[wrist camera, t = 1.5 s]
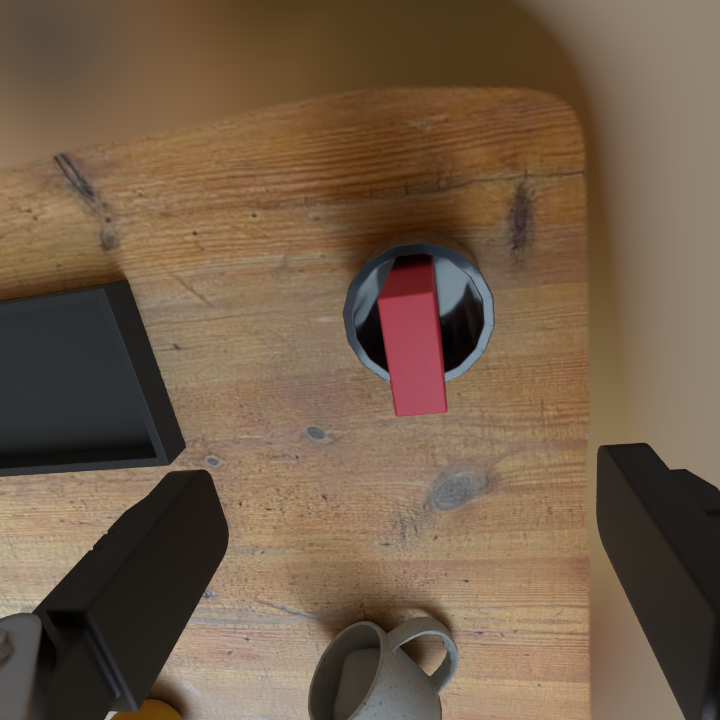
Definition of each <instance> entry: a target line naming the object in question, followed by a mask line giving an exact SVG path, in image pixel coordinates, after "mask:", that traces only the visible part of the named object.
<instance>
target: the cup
mask: <svg viewBox="0 0 720 720" xmlns="http://www.w3.org/2000/svg"><path fill="white" fill-rule="evenodd" d="M422 253H423V254H427V255H431V256H433V260H434V269H435V278H436V287H437V295H438V304H439V313H440V322H441V331H442V344H443V358H444V372H445V382H447V381H449V380H451V379H454V378H456V377H458V376H460V375H462V374H464V373H465V372H467V370H468V369H469V368H470V367H471V366H472V365H473V364H474V363H475V362H476V361H477V360H478V359H479V358H480V357H481V355H482V354H483V353H484V352H485V350H486V347H487V345H488V342H489V339H490V336H491V334H492V331H493V328H494V324H495V320H494V303H493V296H492V293H491V291H490V289H489V287H488V285H487V283H486V281H485V279H484V277H483V276H482V274H481V272H480V270H479V268H478V266H477V264H476V263H475V261H474V259H473V257H472V255H471V254H470V252H469V251H467V250H466V249H465V248H464V247H463V246H462V245H461V244H459V243H458V242H457V241H455V240H454V239H452V238H451V237H449V236H446V235H443V234H440V233H437V232H431V231H412V232H407V233H403V234H400V235H397V236H396V237H394V238H392V239H390V240H388V241H387V242H386V243H384V244H383V245H381V246H379V247H378V248H377V249H376V250H375V252H374V253H373V254H372V256H371V257H370V258H369V259H368V261H367V262H366V263H365V265H364V266H363V267H362V269H361V270H360V271H359V273H358V274H357V276H356V277H355V278H354V280H353V281H352V282H351V284H350V286H349V288H348V292H347V297H346V301H345V306H344V310H343V318H344V324H345V329H346V335H347V340H348V342H349V344H350V346H351V347H352V349H353V350H354V352H355V353H356V355H357V357H358V358H359V360H360V361H361V363H362V364H363V365H364V366H366V367H367V368H368V369H370V370H371V371H373V372H374V373H375V374H377V375H378V376H379V377H381V378H382V379H384V380H386V381H389V382H390V376H389V370H388V364H387V358H386V352H385V345H384V339H383V333H382V327H381V320H380V314H379V308H378V302H377V299H378V297H379V294H380V292H381V290H382V288H383V286H384V283H385V281H386V279H387V277H388V274H389V272H390V270H391V268H392V265H393V263H394V261H395V259H396V257H401V256H408V255H415V254H422Z"/></svg>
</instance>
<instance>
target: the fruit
mask: <svg viewBox="0 0 720 720" xmlns="http://www.w3.org/2000/svg"><path fill="white" fill-rule="evenodd" d="M110 720H183V718H182V717H181V715H180V714H179V713H178V712H177V711H176V710H175V709H174V708H172V707H171V706H170V705H168V704H167V703H165V702H163V701H160V700H154V699H148V700H145V701H144V703H143V704H142V706H141V708H140V710H139V712H138V713H135V712H117V713H116V714H115V715H114V716H113V717H112V718H111V719H110Z"/></svg>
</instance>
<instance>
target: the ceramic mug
mask: <svg viewBox="0 0 720 720" xmlns="http://www.w3.org/2000/svg"><path fill="white" fill-rule="evenodd" d="M424 634H437V635H440V636H441V638H442V640H443V645H444V647H445V648H447V654H446V657H445V659H444V660H443V662H442V665H441V666H440V667H439V668H438V669H437V670H436V671H435V672H434V673H433V674H432V675H431V676H428V675H427V674H426V673H425V672H424V671H423V670H422V669H421V668H420V667H419V666H418V665H417V664H416V663H415V662H414V661H413V660H412V659H411V658H410V657H409V656H408V655H407V654H406V653H405V652H404V651H403V650H402V649H401V648H400V647H399V646H400V645H402V644H404V643H406V642H407V641H409V640H411V639H413V638H415V637H417V636H420V635H424ZM457 667H458V649H457V646H456V644H455V642H454V640H453V638H452V636H451V634H450V632H449V631H448V629H447V628H446V627H445V626H444V625H443V624H442V623H441V622H439V621H438V620H436V619H434V618H430V617H417V618H412V619H410V620H407V621H406V622H404V623H402V624H400V625H399V626H397V627H395V628H394V629H393V630H392V631H390V632H389V633H385V632H384V630H383V629H381V628H380V627H379V626H378V625H377V624H375V623H373V622H371V621H360V622H357V623H354V624H352V625H350V626H348V627H347V628H345V629H344V630H343V631H341V632H340V633H339V634H338V635H337V636H336V637H335V638H334V639H333V641H332V642H331V643H330V645H329V646H328V647H327V649H326V650H325V651H324V653H323V655H322V657H321V659H320V661H319V663H318V665H317V667H316V670H315V672H314V675H313V678H312V682H311V685H310V690H309V698H308V712H309V716H310V720H442V708H441V702H440V697H439V695H438V693H439V692H440V691H441V690H443V689H444V688H445V687H446V685H447V684H448V683H449V682H450V681H451V679H452V678H453V676H454V674H455V672H456V670H457Z"/></svg>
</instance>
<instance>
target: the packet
mask: <svg viewBox="0 0 720 720" xmlns="http://www.w3.org/2000/svg"><path fill="white" fill-rule="evenodd" d="M377 302H378V308H379V314H380V320H381V327H382V333H383V339H384V345H385V352H386V358H387V364H388V370H389V376H390V383H391V389H392V395H393V401H394V408H395V414H396V416H398V417H399V416H411V415H423V414H435V413H446V412H447V399H446V386H445V372H444V358H443V344H442V331H441V322H440V313H439V304H438V295H437V287H436V278H435V269H434V260H433V256H431V255H427V254H423V253H422V254H415V255H408V256H401V257H396V259H395V261H394V263H393V265H392V268H391V270H390V272H389V274H388V277H387V279H386V281H385V283H384V286H383V288H382V290H381V292H380V294H379V297H378V299H377Z"/></svg>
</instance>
